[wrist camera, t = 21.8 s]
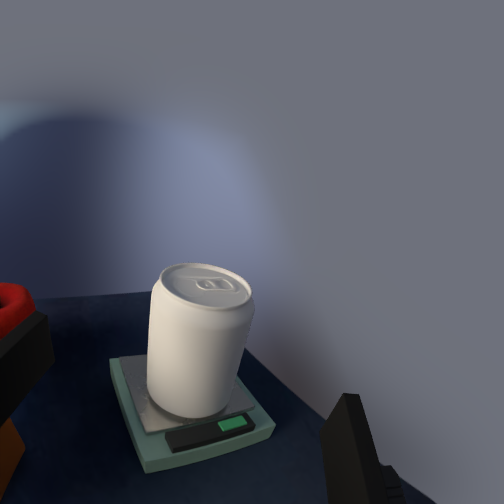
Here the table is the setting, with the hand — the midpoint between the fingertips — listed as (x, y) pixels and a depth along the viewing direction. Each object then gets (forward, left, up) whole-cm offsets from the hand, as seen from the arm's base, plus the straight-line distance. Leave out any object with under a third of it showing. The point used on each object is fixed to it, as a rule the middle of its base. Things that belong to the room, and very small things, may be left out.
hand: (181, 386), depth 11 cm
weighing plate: (+11, -6, -13) cm, 18 cm away
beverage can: (+10, -6, -13) cm, 18 cm away
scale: (+10, -6, -16) cm, 20 cm away
